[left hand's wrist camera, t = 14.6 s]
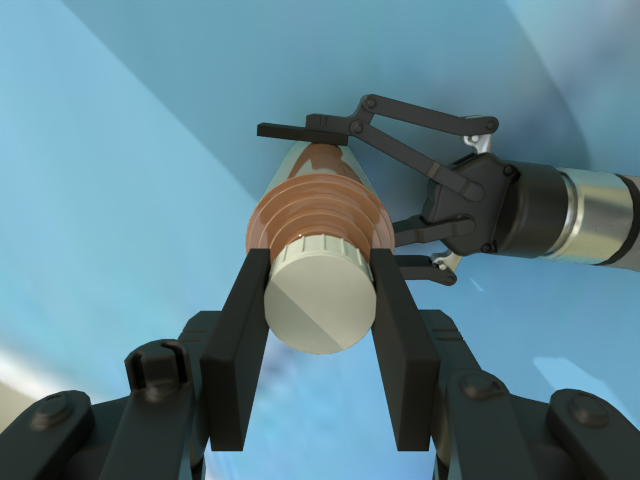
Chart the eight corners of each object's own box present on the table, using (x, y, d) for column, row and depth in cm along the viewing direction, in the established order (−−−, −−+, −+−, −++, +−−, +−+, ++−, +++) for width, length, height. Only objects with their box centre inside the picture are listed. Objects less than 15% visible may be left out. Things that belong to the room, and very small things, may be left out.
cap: (292, 216, 14) (288, 233, 12) (390, 257, 14) (400, 280, 13) (253, 303, 15) (244, 332, 13) (344, 338, 16) (347, 370, 14)
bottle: (373, 168, 35) (464, 288, 13) (324, 224, 37) (332, 410, 15) (314, 117, 34) (304, 155, 12) (266, 178, 36) (180, 311, 14)
